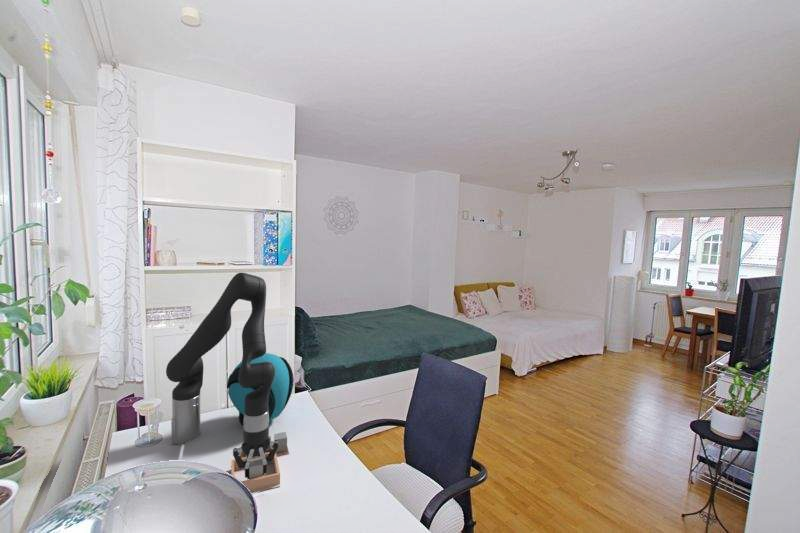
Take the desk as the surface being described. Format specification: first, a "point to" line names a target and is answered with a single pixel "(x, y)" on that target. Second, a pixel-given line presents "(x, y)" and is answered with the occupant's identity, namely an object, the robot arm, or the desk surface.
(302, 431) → the desk surface
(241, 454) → the lid board
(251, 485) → the bin
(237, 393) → the helmet
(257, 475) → the stone
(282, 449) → the stone
